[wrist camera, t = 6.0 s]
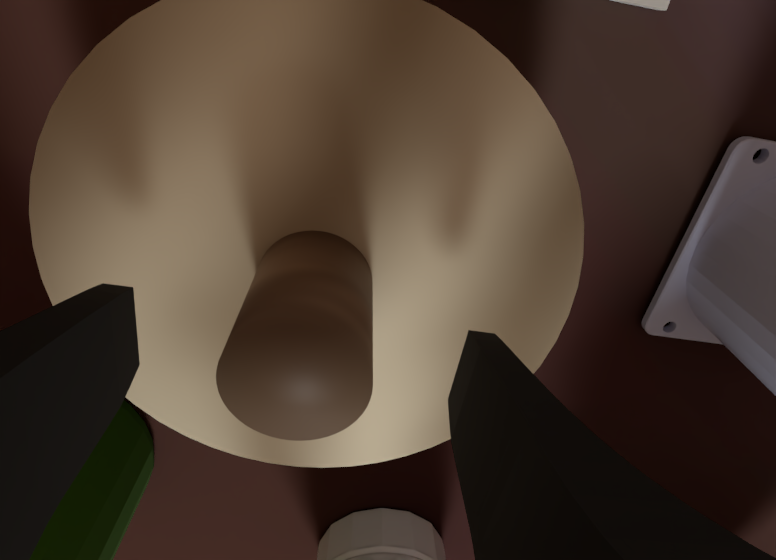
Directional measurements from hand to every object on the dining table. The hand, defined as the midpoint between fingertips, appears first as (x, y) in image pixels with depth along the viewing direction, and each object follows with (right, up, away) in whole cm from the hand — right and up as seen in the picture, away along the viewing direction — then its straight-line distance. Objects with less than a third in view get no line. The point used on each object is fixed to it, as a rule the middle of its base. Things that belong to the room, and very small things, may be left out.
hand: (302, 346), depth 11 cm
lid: (0, +2, +3) cm, 3 cm away
